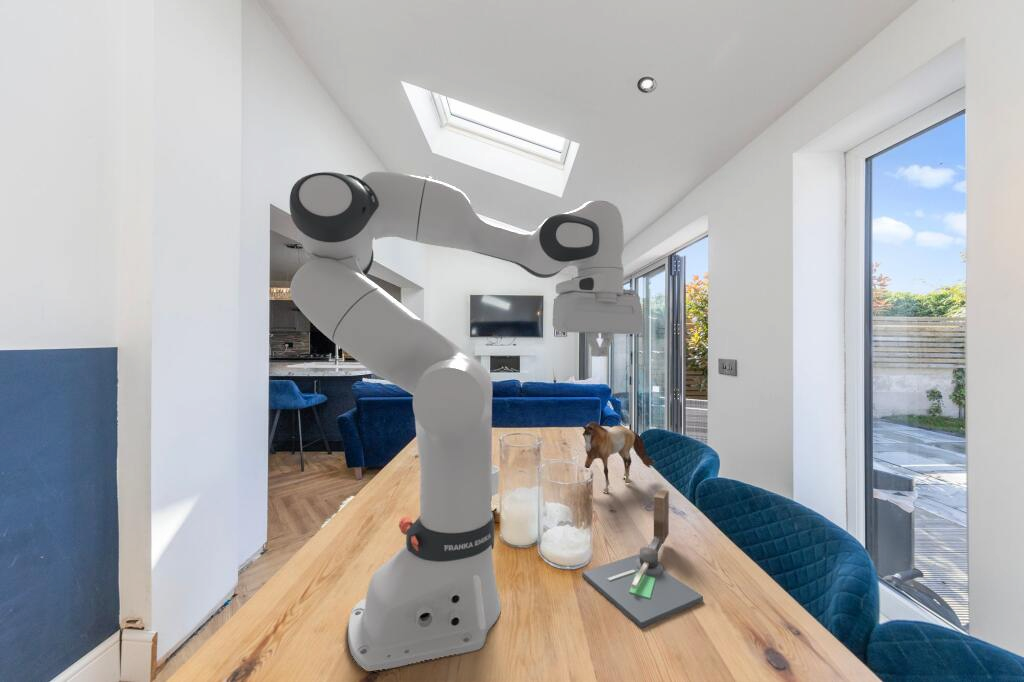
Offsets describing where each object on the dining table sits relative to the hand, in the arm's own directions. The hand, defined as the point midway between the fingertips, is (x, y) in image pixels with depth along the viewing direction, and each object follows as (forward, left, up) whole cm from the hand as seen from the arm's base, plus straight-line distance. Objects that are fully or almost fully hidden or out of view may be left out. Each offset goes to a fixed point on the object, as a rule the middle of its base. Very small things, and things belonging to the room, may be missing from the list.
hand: (599, 356), depth 76 cm
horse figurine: (+29, +25, -39) cm, 55 cm away
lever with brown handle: (+6, -7, -38) cm, 39 cm away
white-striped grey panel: (0, -11, -39) cm, 41 cm away
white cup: (-12, +30, -39) cm, 51 cm away
